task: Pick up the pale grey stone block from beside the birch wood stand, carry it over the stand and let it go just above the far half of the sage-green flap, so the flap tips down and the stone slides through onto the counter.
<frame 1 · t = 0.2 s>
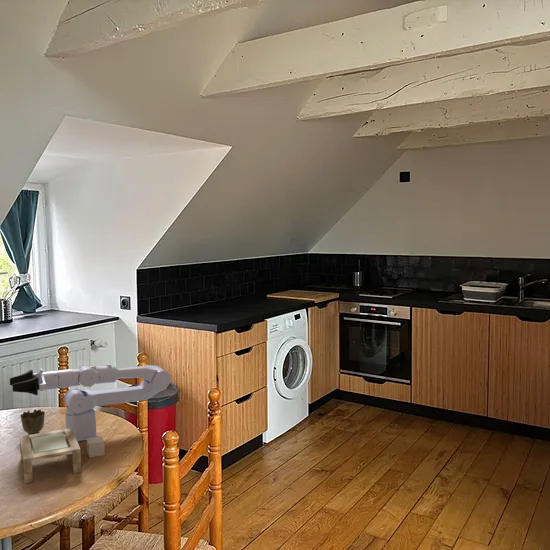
hand: (11, 384, 177), 21 cm above the table, tool horizontal, fingers open, 7 cm apart
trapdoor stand: (50, 465, 169), on the table
flap: (50, 447, 168), point 5 cm above the table, hinge at 0.0°
cup: (33, 436, 191), on the table
stone: (95, 453, 177), on the table
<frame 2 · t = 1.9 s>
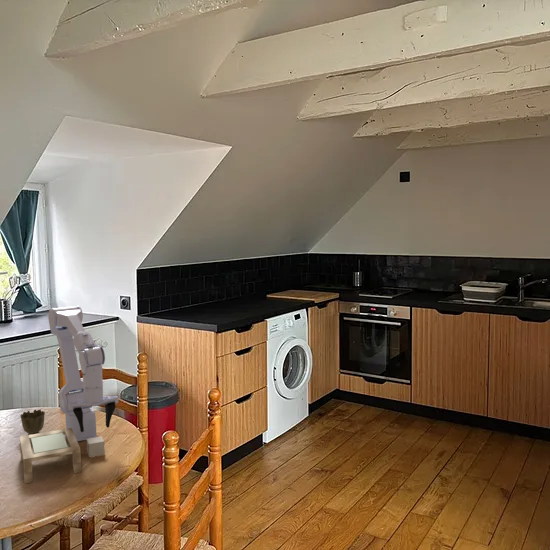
hand: (94, 428, 176), 8 cm above the table, tool pointing down, fingers open, 7 cm apart
nothing on the table moved.
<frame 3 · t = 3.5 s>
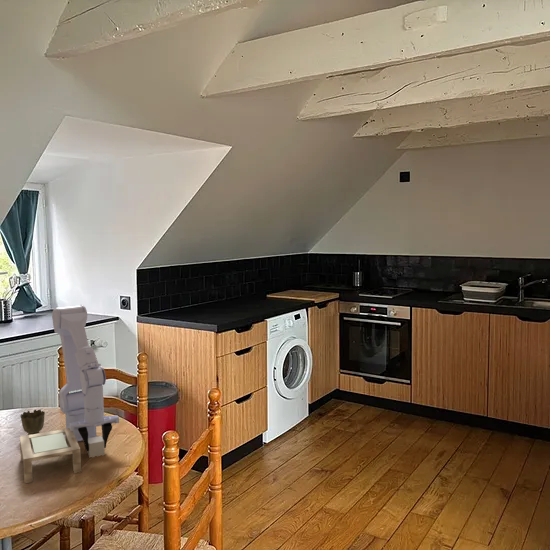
hand: (95, 448, 177), 2 cm above the table, tool pointing down, fingers closed on stone, 4 cm apart
stone: (95, 453, 177), on the table, touching gripper
everything else where it was.
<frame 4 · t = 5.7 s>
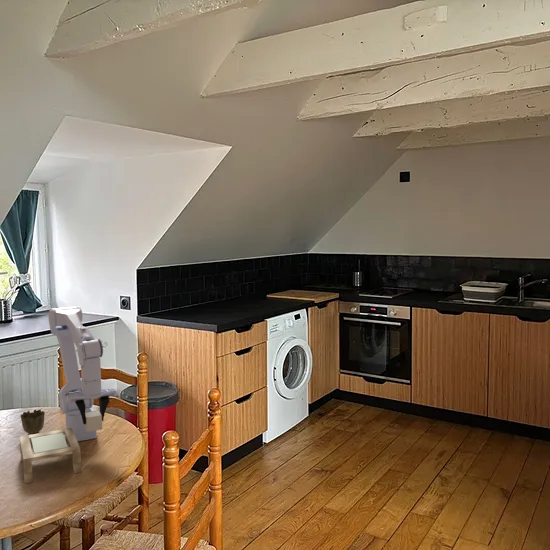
hand: (93, 421, 175), 10 cm above the table, tool pointing down, fingers closed on stone, 4 cm apart
stone: (93, 428, 175), point 8 cm above the table, touching gripper
everything else where it was.
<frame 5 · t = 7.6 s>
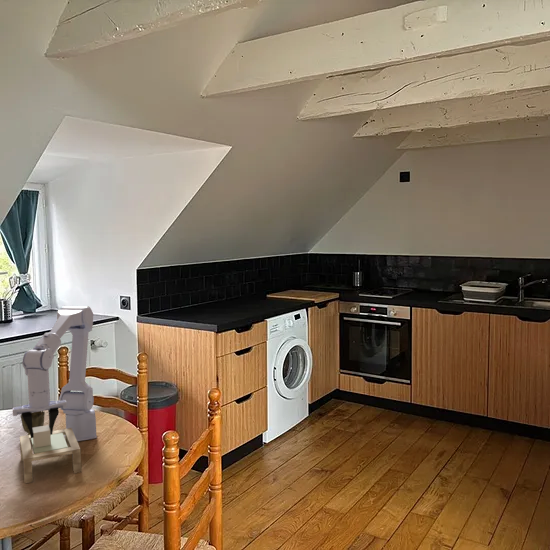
hand: (41, 435, 167), 10 cm above the table, tool pointing down, fingers closed on stone, 4 cm apart
stone: (42, 443, 167), point 7 cm above the table, touching gripper
everything else where it was.
when the fingers open (10 cm above the table, at t = 8.3 s): stone drops 1 cm, resting on flap.
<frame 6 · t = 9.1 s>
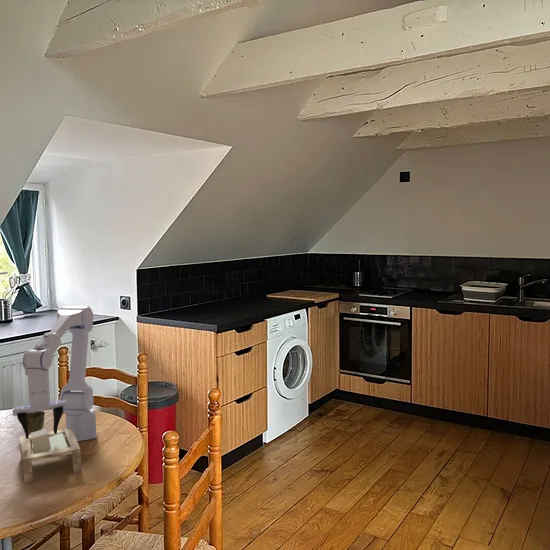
hand: (41, 434, 167), 10 cm above the table, tool pointing down, fingers open, 7 cm apart
flap: (51, 449, 169), point 5 cm above the table, hinge at -8.7°, touching stone
stone: (42, 447, 167), point 6 cm above the table, tilted 9°, touching flap
everything else where it was.
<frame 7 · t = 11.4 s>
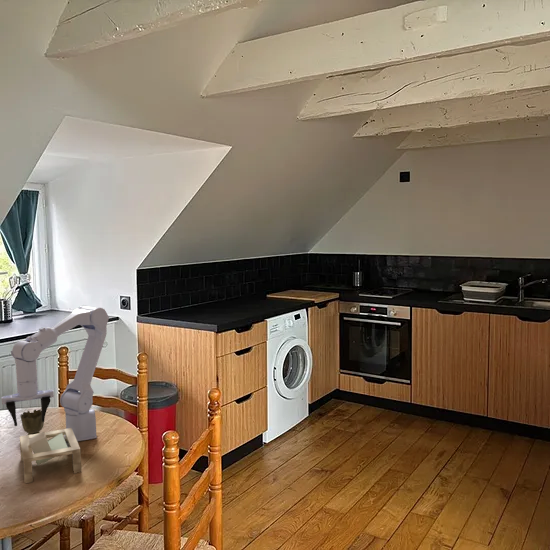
hand: (29, 423, 174), 10 cm above the table, tool pointing down, fingers open, 7 cm apart
flap: (52, 451, 169), point 4 cm above the table, hinge at -19.0°, touching stone
stone: (43, 451, 167), point 5 cm above the table, tilted 19°, touching flap
everything else where it was.
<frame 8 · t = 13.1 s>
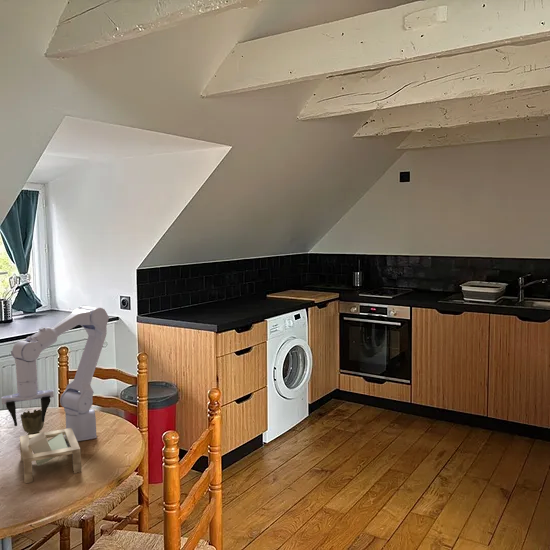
hand: (29, 423, 174), 10 cm above the table, tool pointing down, fingers open, 7 cm apart
flap: (52, 451, 169), point 4 cm above the table, hinge at -20.2°, touching stone
stone: (43, 451, 167), point 5 cm above the table, tilted 20°, touching flap, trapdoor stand
everything else where it was.
at the end: stone point 4.7 cm above the table; stone inside the target area (0.5 cm from its centre), point 4.7 cm above the table; the gripper is holding nothing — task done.
